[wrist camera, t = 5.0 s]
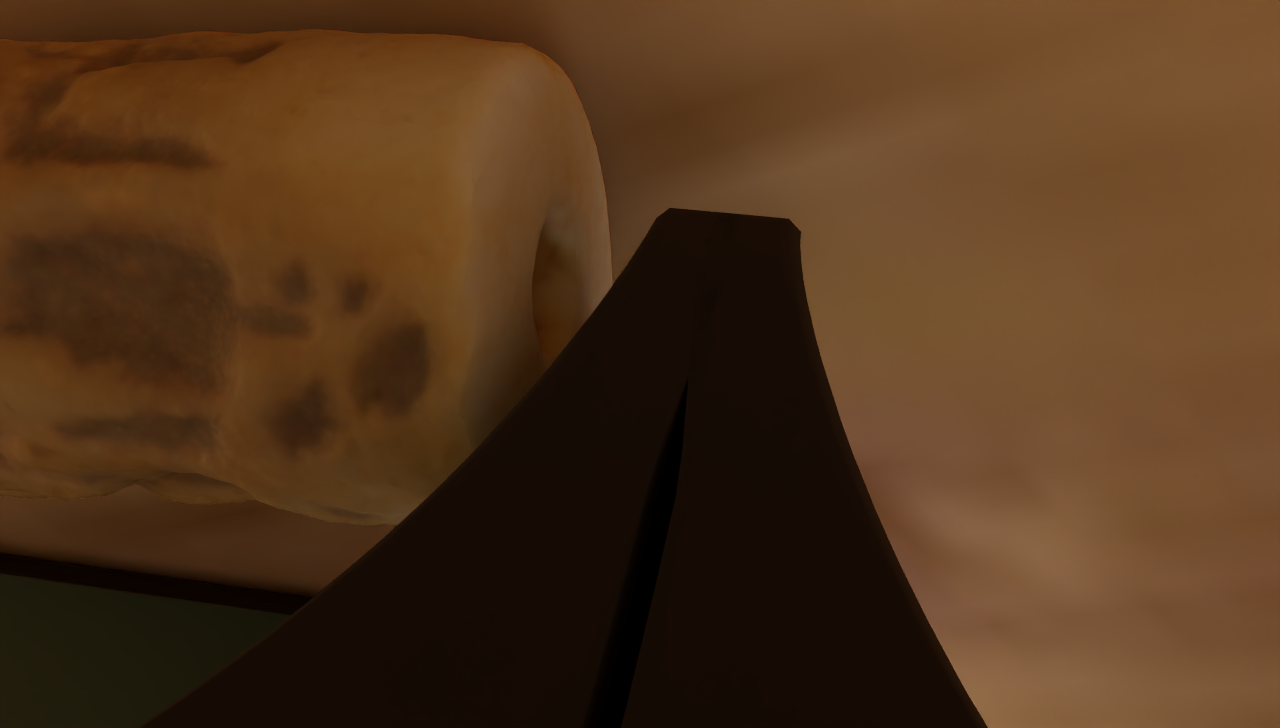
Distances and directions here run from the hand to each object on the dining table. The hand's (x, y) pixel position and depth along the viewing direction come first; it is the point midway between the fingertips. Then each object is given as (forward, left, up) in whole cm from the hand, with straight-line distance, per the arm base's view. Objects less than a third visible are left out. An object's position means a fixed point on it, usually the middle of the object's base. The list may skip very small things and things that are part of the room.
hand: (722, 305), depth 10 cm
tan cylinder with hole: (+5, 0, -2) cm, 5 cm away
